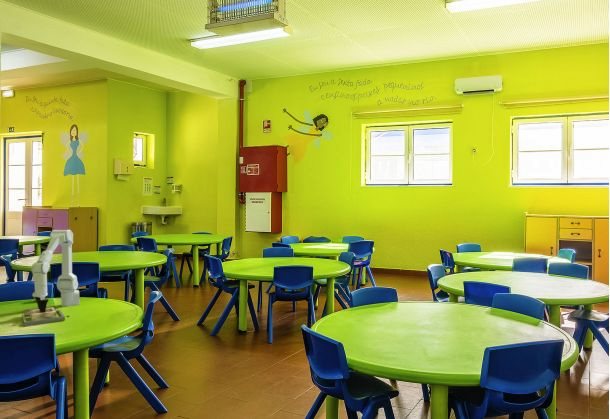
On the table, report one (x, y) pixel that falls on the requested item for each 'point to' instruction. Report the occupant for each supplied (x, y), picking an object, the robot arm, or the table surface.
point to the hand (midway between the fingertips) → (42, 311)
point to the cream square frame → (42, 314)
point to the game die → (35, 296)
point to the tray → (43, 321)
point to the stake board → (27, 311)
